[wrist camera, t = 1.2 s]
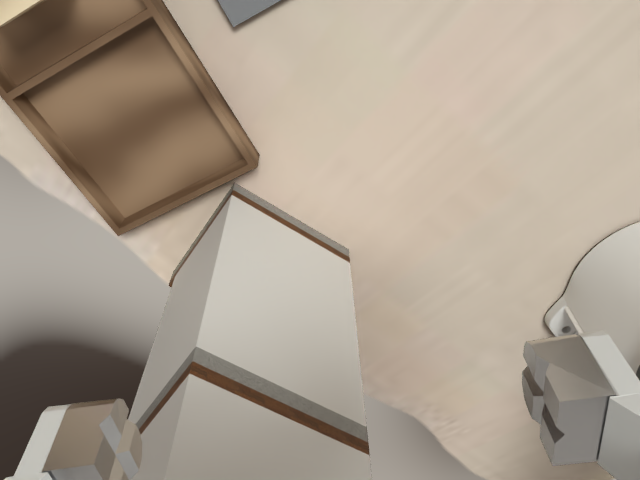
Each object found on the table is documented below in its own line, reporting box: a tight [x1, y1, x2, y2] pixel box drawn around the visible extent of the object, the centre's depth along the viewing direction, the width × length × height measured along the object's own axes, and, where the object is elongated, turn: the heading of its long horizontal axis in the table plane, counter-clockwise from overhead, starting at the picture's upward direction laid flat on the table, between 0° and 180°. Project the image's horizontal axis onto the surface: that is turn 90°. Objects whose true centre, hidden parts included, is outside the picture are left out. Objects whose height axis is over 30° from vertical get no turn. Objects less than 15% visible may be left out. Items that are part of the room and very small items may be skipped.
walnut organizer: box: [0, 0, 259, 236], centre depth 41 cm, size 26×13×2 cm, turn 28°
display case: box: [128, 183, 372, 480], centre depth 37 cm, size 11×11×35 cm
